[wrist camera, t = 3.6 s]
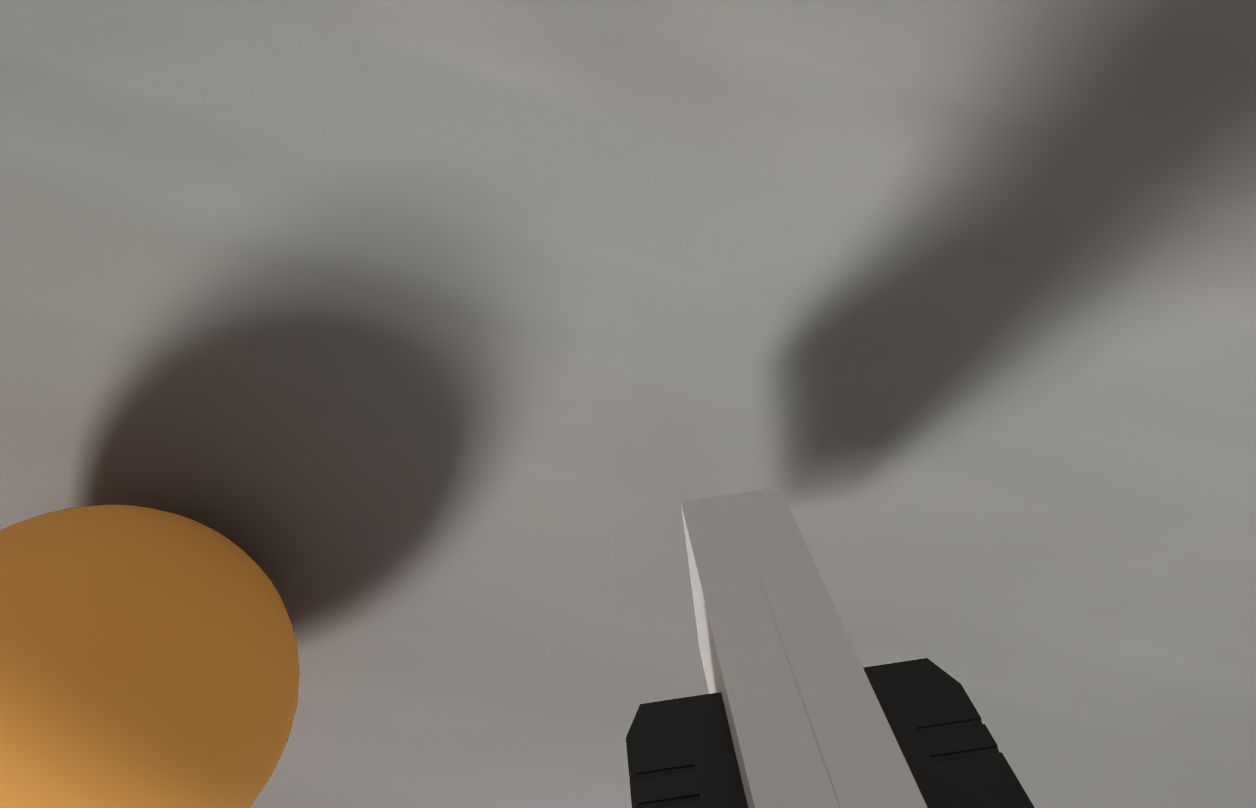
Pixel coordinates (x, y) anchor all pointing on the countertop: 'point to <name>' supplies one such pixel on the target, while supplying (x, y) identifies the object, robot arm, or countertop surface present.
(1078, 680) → the countertop surface
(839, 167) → the countertop surface
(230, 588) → the ball
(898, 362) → the countertop surface
